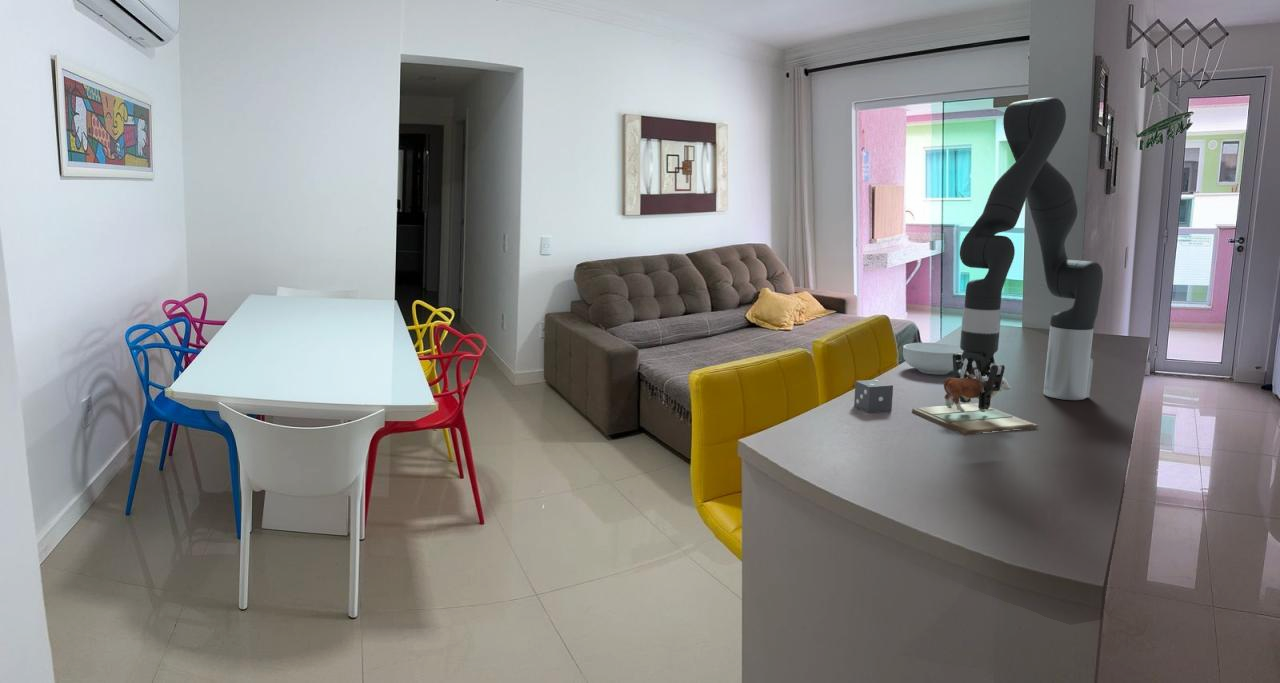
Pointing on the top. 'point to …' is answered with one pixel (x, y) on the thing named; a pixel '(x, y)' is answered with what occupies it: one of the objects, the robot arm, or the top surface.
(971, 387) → the bull figurine
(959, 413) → the paneled room divider
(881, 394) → the die
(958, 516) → the top surface
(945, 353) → the cereal bowl
